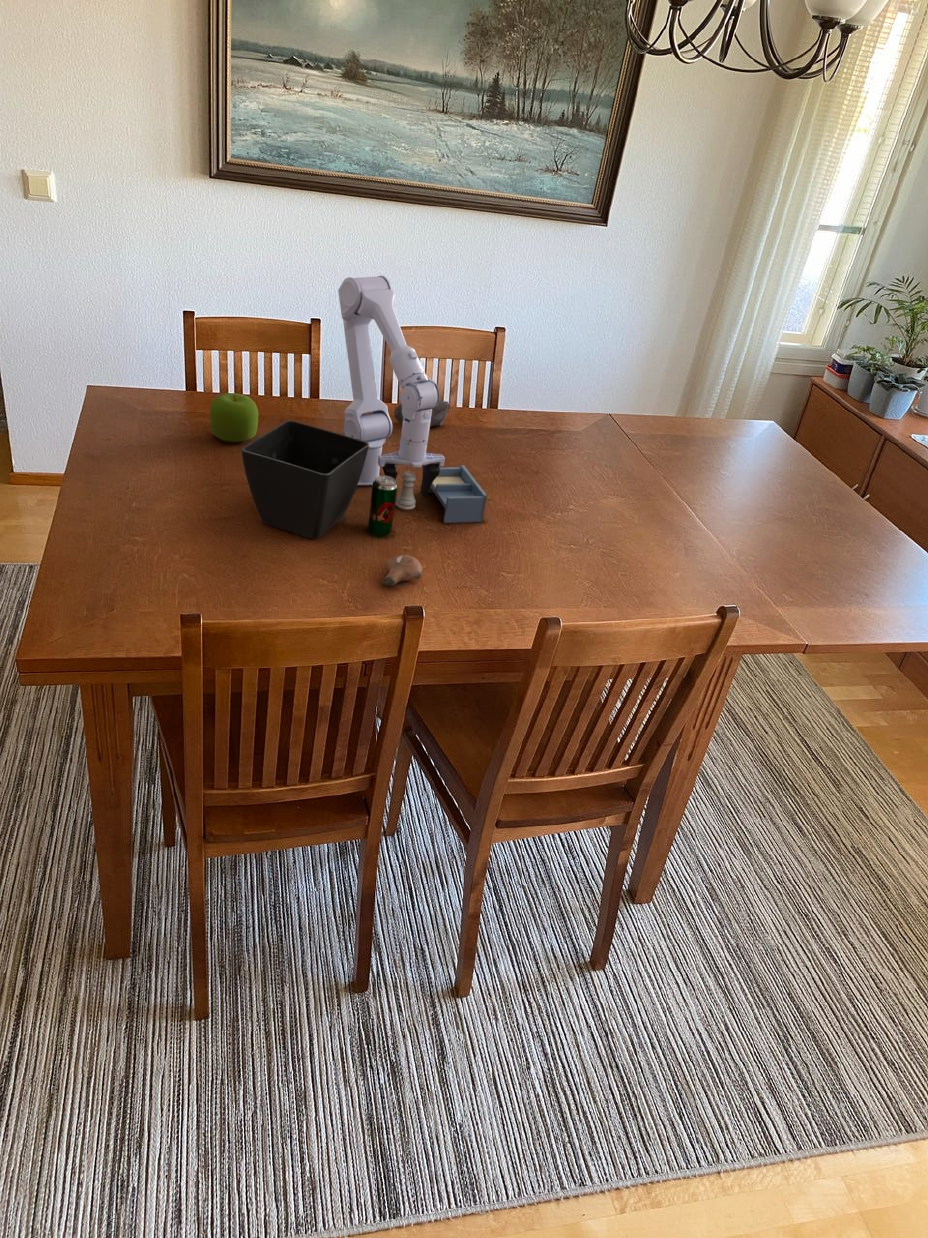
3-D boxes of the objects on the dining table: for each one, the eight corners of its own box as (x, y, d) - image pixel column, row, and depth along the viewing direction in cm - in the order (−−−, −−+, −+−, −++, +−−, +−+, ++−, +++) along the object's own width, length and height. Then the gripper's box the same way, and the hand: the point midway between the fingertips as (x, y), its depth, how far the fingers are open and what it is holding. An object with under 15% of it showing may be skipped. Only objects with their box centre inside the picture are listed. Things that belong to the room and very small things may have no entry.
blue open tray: (444, 522, 194) (448, 496, 190) (423, 491, 205) (427, 465, 201) (482, 521, 197) (487, 495, 193) (459, 490, 208) (463, 465, 205)
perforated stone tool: (393, 426, 234) (396, 401, 230) (391, 419, 238) (394, 394, 234) (449, 431, 237) (453, 406, 234) (446, 423, 242) (450, 398, 238)
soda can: (395, 531, 187) (402, 479, 180) (384, 540, 183) (390, 488, 176) (375, 523, 188) (380, 472, 182) (362, 532, 184) (368, 480, 178)
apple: (251, 450, 208) (252, 406, 202) (205, 443, 208) (205, 399, 202) (261, 432, 218) (263, 389, 212) (217, 425, 217) (217, 382, 211)
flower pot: (237, 524, 179) (238, 447, 170) (285, 490, 194) (288, 417, 185) (321, 553, 175) (327, 475, 166) (363, 516, 190) (371, 443, 181)
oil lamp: (371, 572, 174) (385, 595, 168) (371, 555, 171) (384, 577, 165) (414, 564, 177) (429, 586, 171) (414, 547, 174) (429, 568, 168)
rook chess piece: (406, 512, 195) (410, 479, 190) (391, 505, 197) (395, 472, 192) (419, 507, 198) (424, 474, 194) (404, 499, 200) (408, 467, 196)
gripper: (386, 445, 183) (380, 504, 190) (452, 445, 188) (443, 502, 195) (377, 431, 188) (371, 489, 195) (442, 431, 193) (433, 488, 201)
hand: (406, 494), depth 196 cm, fingers open, 7 cm apart
